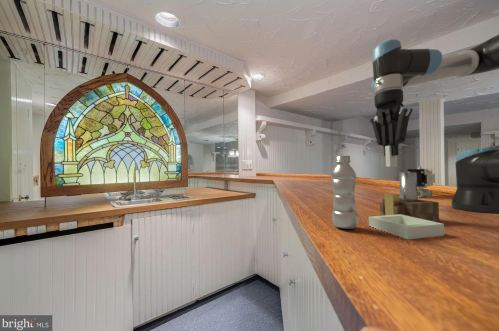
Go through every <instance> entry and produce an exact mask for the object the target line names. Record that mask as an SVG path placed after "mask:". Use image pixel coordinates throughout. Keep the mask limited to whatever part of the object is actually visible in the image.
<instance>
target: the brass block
mask: <svg viewBox="0 0 499 331" xmlns="http://www.w3.org/2000/svg"><path fill="white" fill-rule="evenodd" d="M383 195H384V197H383V198H384V199H385V215H394V208H393V206H400V193H393V192H390V193H387V192H386V193H384V194H383Z"/></svg>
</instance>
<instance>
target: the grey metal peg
mask: <svg viewBox="0 0 499 331" xmlns="http://www.w3.org/2000/svg"><path fill="white" fill-rule="evenodd" d="M398 177H399V182H398V183H399V184H398V185H399V198H400V201H405V202H418V200H419V198H417V190H418V187H417V173H408V172H398Z"/></svg>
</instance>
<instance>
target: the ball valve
mask: <svg viewBox="0 0 499 331" xmlns="http://www.w3.org/2000/svg"><path fill="white" fill-rule="evenodd" d="M407 173H417V197H429V198H432V197H433V196H434V194H433V191H432V190H429V189H427V188H428V187H432V186H433V185H434V183H436V181H435V180H436V178H435V173H433V168H422V166H421V165H418V168H407ZM425 188H426V189H425Z"/></svg>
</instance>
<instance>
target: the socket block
mask: <svg viewBox="0 0 499 331" xmlns="http://www.w3.org/2000/svg"><path fill="white" fill-rule="evenodd" d="M381 202H382V203H379V210H380V211H379V216H384V215H385V198H382V199H381ZM393 208H394V215H398V214H401V215H406V216H410V217H415V218H419V219H424V220H429V221H433V222H438V223H440V210H439V208H440V206H439V202H438V201H432V200H425V199H418V202H405V201H400V206H393Z"/></svg>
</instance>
